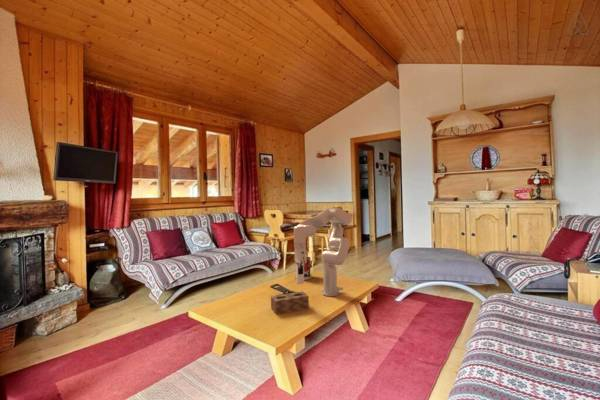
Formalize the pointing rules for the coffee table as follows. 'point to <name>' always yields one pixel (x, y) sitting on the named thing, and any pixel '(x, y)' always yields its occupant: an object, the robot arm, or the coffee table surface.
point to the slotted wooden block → (289, 302)
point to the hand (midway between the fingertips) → (300, 273)
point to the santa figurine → (307, 269)
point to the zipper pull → (281, 289)
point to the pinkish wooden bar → (299, 276)
